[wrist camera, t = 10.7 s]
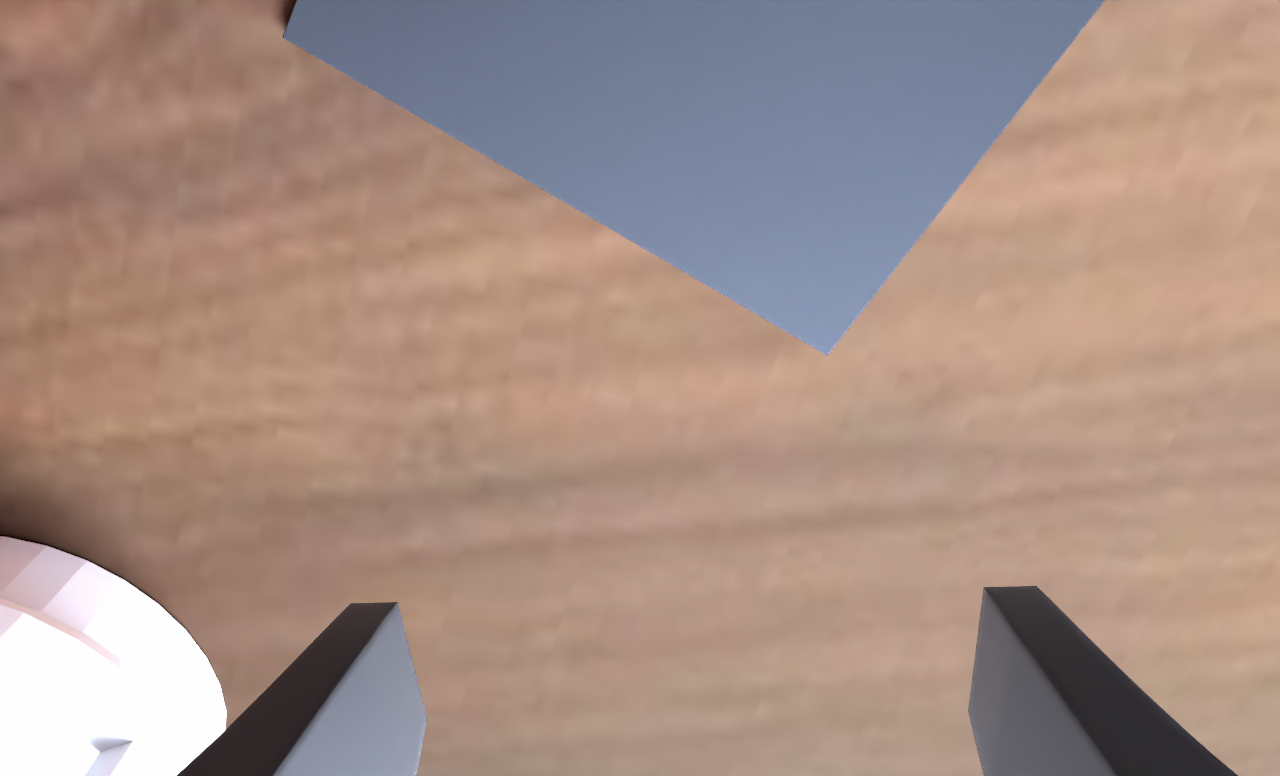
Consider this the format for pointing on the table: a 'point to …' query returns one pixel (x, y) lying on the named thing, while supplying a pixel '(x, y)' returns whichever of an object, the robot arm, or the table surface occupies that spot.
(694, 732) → the table surface
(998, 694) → the robot arm
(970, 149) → the desk mat
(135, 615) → the flag stand
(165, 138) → the table surface
